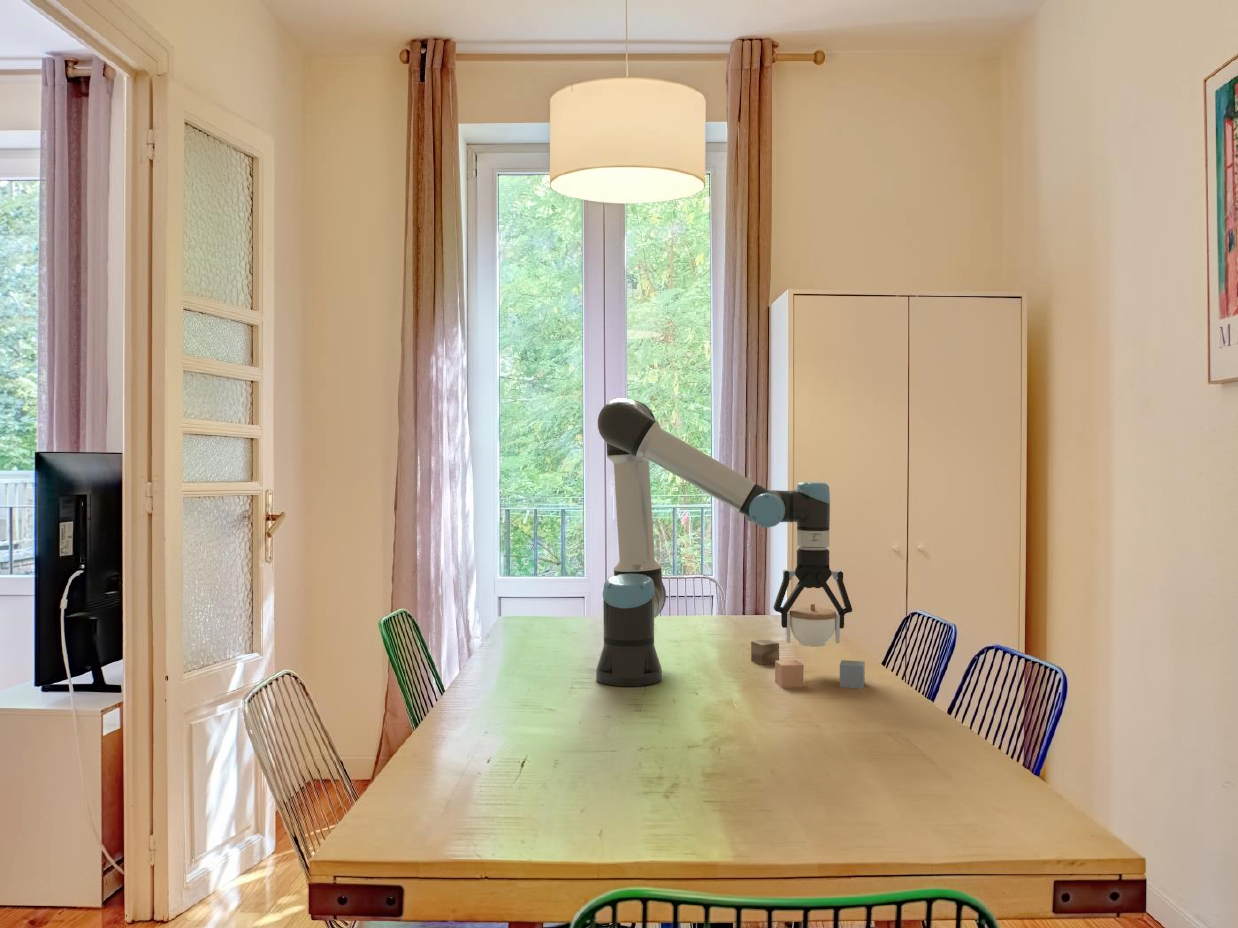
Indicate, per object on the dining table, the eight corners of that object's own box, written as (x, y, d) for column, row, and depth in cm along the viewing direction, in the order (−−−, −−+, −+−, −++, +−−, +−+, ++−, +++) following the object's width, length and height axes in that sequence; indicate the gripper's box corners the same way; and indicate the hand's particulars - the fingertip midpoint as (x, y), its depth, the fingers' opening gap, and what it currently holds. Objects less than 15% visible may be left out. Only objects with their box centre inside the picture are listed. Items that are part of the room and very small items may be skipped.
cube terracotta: (781, 687, 217) (781, 665, 217) (775, 682, 222) (775, 660, 222) (803, 687, 218) (803, 664, 218) (796, 681, 223) (796, 659, 223)
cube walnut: (761, 665, 240) (761, 644, 240) (751, 661, 245) (751, 641, 245) (779, 663, 242) (779, 643, 242) (768, 659, 247) (768, 639, 246)
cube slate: (839, 687, 218) (839, 664, 218) (841, 681, 223) (841, 659, 223) (863, 688, 216) (862, 666, 216) (864, 683, 221) (864, 661, 221)
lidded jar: (823, 650, 223) (823, 609, 223) (781, 644, 230) (781, 604, 230) (843, 643, 232) (843, 603, 232) (802, 637, 238) (802, 599, 238)
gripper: (765, 549, 227) (764, 644, 228) (866, 550, 226) (865, 645, 227) (761, 546, 235) (761, 638, 235) (859, 546, 234) (859, 639, 234)
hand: (812, 641), depth 231 cm, fingers closed on lidded jar, 11 cm apart
